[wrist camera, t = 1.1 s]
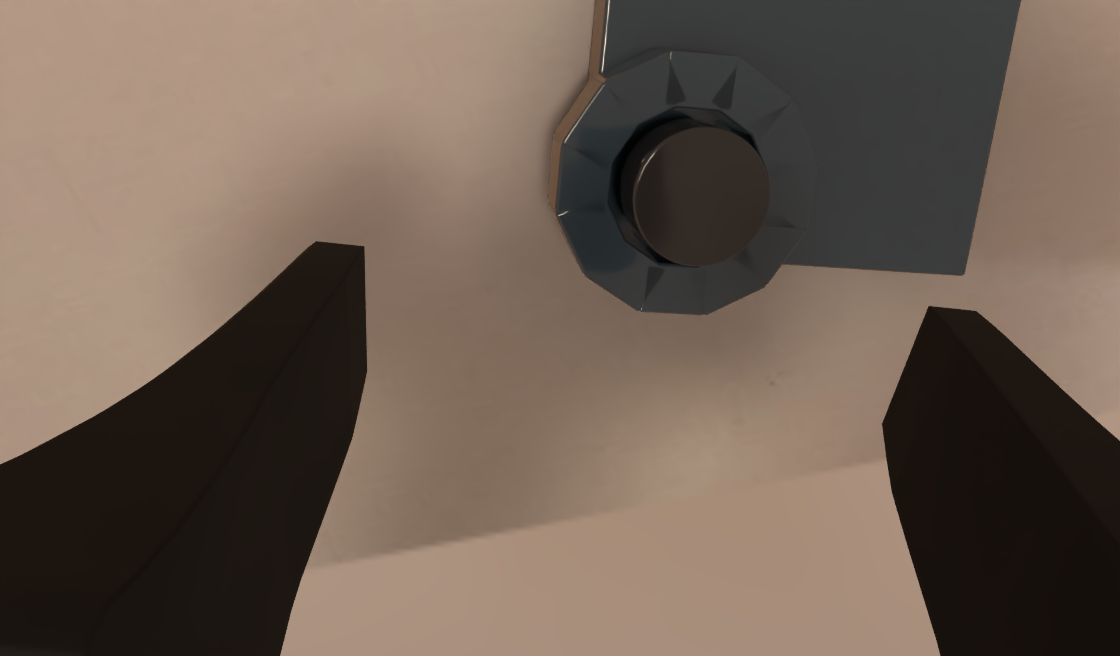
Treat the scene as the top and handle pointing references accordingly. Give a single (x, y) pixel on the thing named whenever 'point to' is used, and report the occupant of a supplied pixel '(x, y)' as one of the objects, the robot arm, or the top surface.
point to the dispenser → (790, 133)
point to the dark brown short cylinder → (694, 192)
